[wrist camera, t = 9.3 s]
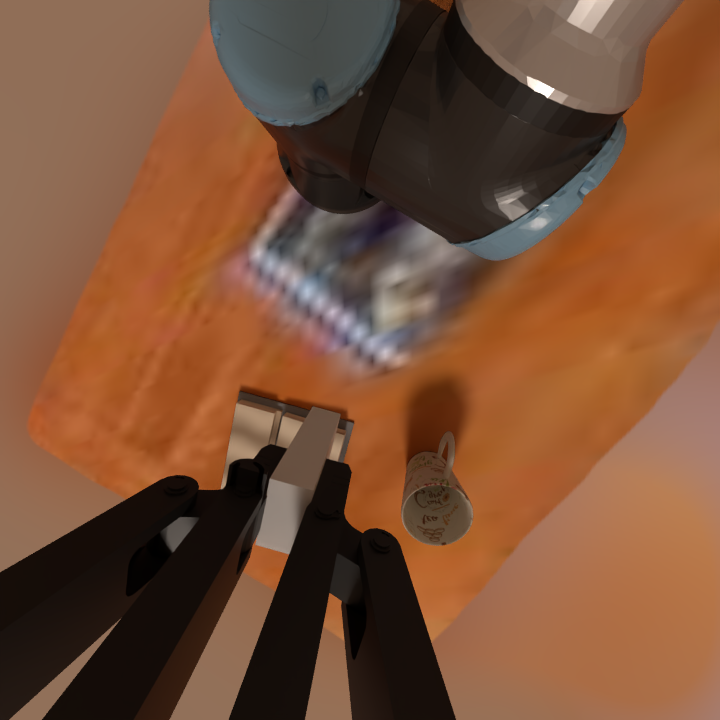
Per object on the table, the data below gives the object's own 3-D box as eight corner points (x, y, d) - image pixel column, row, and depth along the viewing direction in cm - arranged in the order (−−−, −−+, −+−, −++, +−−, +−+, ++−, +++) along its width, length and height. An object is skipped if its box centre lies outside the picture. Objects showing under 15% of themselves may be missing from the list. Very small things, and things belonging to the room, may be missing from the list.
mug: (393, 488, 51) (394, 537, 41) (413, 410, 48) (419, 443, 38) (448, 500, 51) (462, 553, 41) (471, 423, 48) (493, 460, 38)
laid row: (240, 391, 49) (234, 395, 47) (354, 422, 49) (352, 428, 47) (217, 517, 54) (210, 526, 52) (319, 546, 54) (317, 556, 52)
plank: (286, 412, 49) (282, 415, 47) (346, 430, 48) (344, 435, 47) (273, 469, 51) (269, 474, 50) (330, 488, 50) (328, 494, 49)
